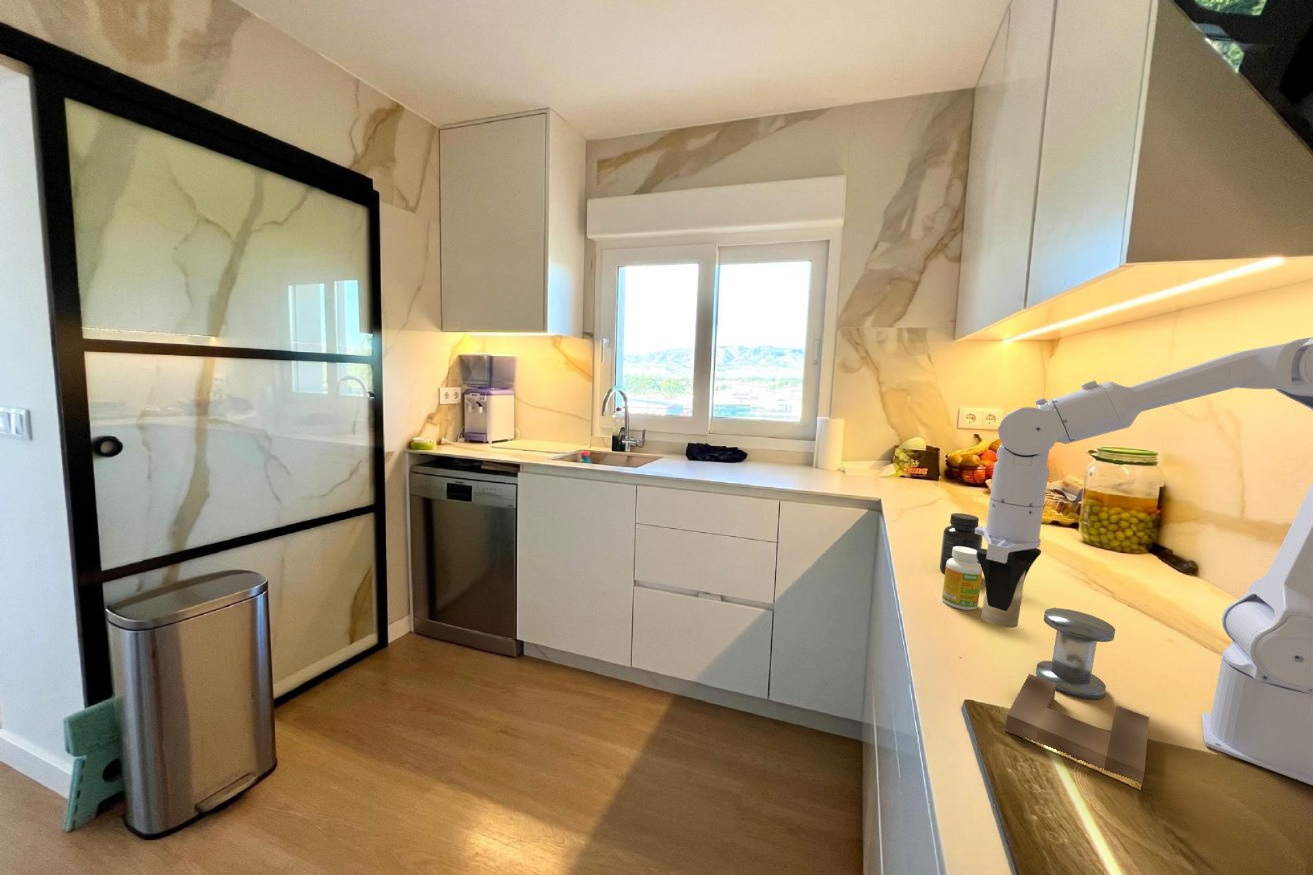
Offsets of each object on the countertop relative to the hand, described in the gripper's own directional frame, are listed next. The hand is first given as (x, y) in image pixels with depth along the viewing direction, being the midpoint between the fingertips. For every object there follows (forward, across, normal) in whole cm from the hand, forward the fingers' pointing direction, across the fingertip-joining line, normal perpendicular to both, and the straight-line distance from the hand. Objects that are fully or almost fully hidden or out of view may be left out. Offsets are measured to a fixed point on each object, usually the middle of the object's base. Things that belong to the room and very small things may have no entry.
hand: (1002, 602), depth 68 cm
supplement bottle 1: (+10, -37, -14) cm, 41 cm away
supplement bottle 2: (+10, -20, -10) cm, 25 cm away
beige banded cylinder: (+2, 0, 0) cm, 2 cm away
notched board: (+9, +8, +10) cm, 15 cm away
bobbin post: (+9, -4, +8) cm, 13 cm away
